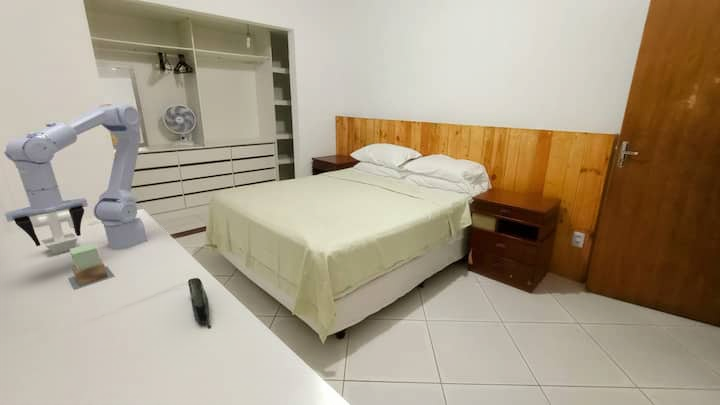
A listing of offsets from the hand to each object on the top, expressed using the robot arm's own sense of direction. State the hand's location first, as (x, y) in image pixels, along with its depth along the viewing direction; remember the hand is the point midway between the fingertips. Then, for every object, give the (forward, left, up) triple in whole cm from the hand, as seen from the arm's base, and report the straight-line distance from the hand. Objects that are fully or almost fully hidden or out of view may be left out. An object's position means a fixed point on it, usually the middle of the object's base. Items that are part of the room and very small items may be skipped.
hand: (58, 239), depth 80 cm
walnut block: (-3, +9, -9) cm, 13 cm away
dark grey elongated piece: (-16, +41, -11) cm, 46 cm away
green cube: (-3, +9, -5) cm, 11 cm away
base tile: (-3, +9, -10) cm, 14 cm away
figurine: (-1, -22, -11) cm, 24 cm away
